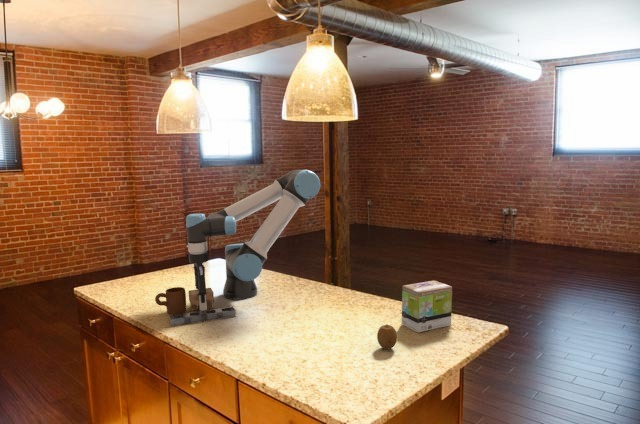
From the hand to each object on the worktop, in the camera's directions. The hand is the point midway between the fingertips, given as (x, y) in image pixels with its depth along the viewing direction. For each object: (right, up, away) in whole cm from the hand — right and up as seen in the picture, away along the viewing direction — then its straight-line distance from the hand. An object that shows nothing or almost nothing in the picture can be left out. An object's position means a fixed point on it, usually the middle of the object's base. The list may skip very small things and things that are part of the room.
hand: (202, 307), depth 192 cm
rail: (+4, -2, -12) cm, 13 cm away
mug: (-11, -2, -5) cm, 12 cm away
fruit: (+70, -5, -43) cm, 82 cm away
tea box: (+87, -2, -24) cm, 90 cm away
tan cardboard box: (0, 0, 0) cm, 0 cm away
